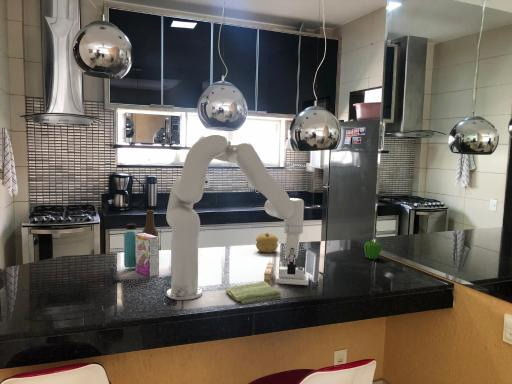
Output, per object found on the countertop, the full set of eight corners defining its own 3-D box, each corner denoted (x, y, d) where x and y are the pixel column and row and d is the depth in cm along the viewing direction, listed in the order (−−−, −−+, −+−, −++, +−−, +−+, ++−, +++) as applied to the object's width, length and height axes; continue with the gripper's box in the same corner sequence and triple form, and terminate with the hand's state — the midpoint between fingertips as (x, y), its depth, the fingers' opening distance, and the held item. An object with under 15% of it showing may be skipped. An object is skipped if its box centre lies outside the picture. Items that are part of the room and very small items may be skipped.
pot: (280, 250, 216) (281, 232, 215) (272, 255, 205) (273, 236, 204) (260, 248, 221) (261, 230, 220) (252, 252, 210) (252, 233, 209)
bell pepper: (366, 255, 209) (367, 236, 209) (382, 258, 205) (383, 238, 204) (360, 258, 203) (361, 239, 202) (377, 261, 198) (378, 241, 197)
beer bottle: (161, 259, 192) (162, 210, 190) (149, 263, 185) (149, 211, 183) (150, 257, 196) (150, 208, 194) (138, 260, 189) (137, 210, 187)
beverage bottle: (134, 271, 171) (134, 225, 169) (120, 270, 172) (120, 224, 171) (142, 267, 177) (142, 223, 176) (128, 266, 179) (128, 222, 177)
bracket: (308, 285, 158) (308, 280, 158) (275, 283, 160) (275, 278, 160) (308, 279, 166) (308, 275, 165) (276, 277, 167) (276, 273, 167)
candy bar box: (134, 272, 171) (134, 234, 169) (145, 269, 175) (144, 232, 173) (149, 277, 163) (149, 238, 162) (159, 275, 167) (159, 236, 166)
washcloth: (223, 293, 147) (223, 285, 147) (266, 287, 155) (266, 279, 155) (238, 305, 136) (238, 296, 135) (283, 298, 144) (283, 289, 143)
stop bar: (279, 278, 165) (279, 265, 165) (303, 279, 164) (304, 266, 164) (278, 281, 161) (279, 267, 161) (303, 282, 160) (304, 269, 160)
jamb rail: (270, 286, 156) (270, 273, 155) (263, 285, 156) (264, 273, 156) (273, 274, 172) (273, 263, 171) (267, 274, 172) (268, 262, 171)
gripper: (285, 225, 170) (283, 264, 171) (282, 232, 153) (281, 276, 154) (302, 226, 169) (301, 266, 170) (302, 233, 152) (300, 277, 153)
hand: (291, 270), depth 162 cm, fingers open, 9 cm apart
